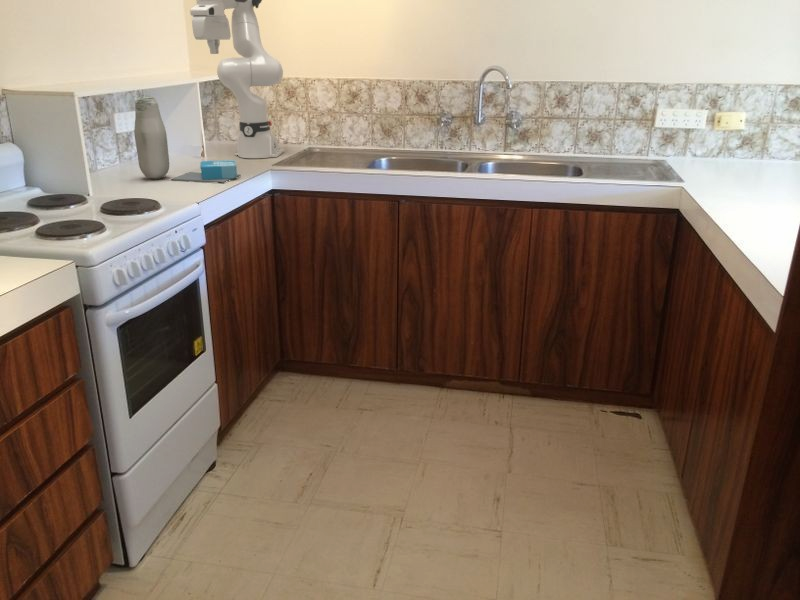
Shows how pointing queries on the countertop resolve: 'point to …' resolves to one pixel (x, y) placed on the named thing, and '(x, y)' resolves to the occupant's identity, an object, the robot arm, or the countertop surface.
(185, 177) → the mat
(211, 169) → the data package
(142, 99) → the grey bottle
